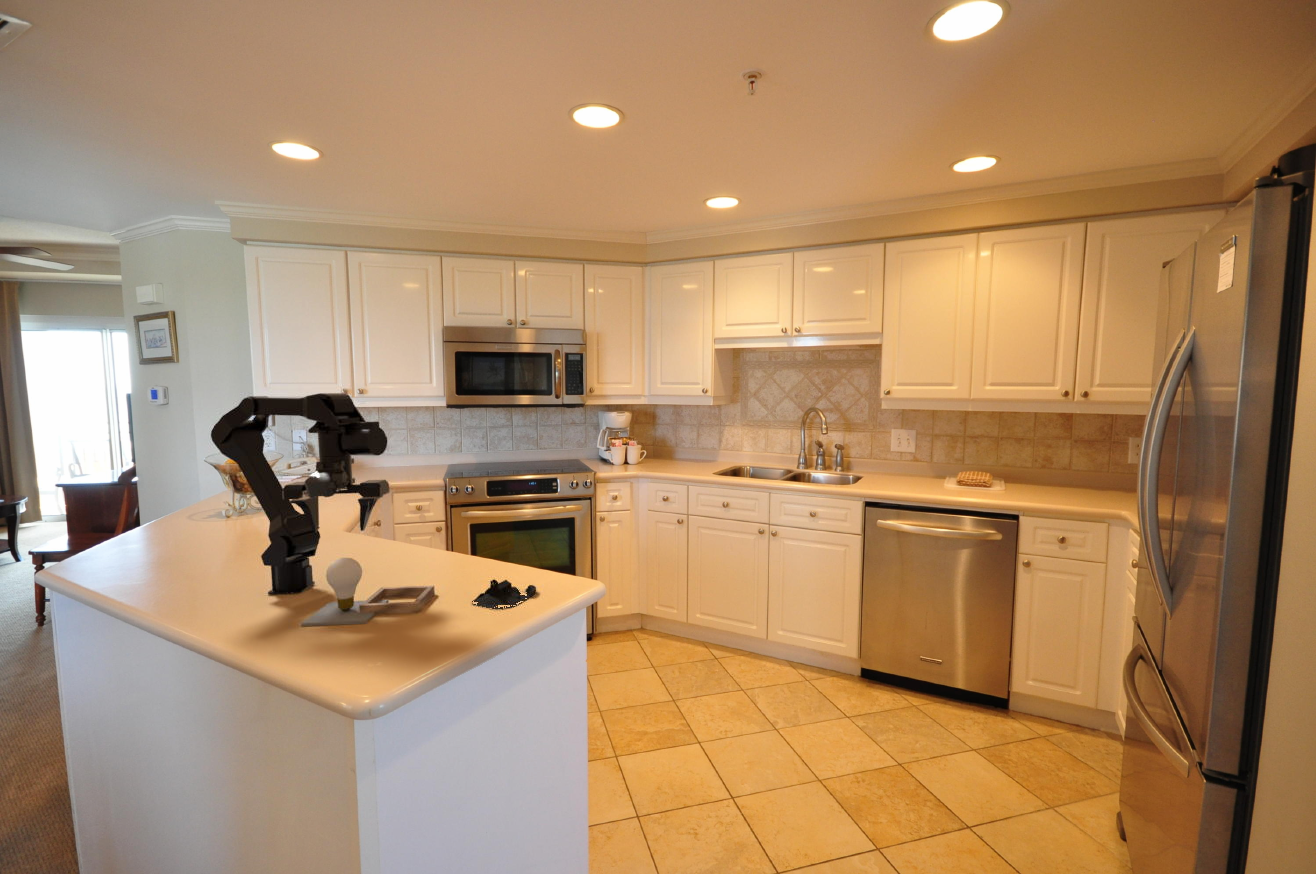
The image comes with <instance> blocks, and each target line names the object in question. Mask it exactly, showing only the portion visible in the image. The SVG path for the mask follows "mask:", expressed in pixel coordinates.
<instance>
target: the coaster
mask: <svg viewBox="0 0 1316 874" xmlns="http://www.w3.org/2000/svg"><path fill="white" fill-rule="evenodd" d="M364 601H365V600H354V606H353V607H352V608H351V609H350V610H348V611H342V610H341V609H339V608H338V601H329V602H328V603H327V604H325V605H324V606H323V607H321V608H320V609H318V610H317V611H316V612H315V613H313V614H312V615H310V616H309V617H308V618H306V619H305V620H304V621H302V622H301V624H300V625H301V627H311V626H312V627H315V626H317V627H318V626H334V625H335V626H336V625H338V626H339V625H356V624H357V625H359V624H360V625H361V624H367V623H368V622H369V621H370V620H371V619H372V618H373V617H374V616H375V612H363V613H360V611H359V606H360V605H361V604H362V603H363V602H364ZM376 603H390V600H389V599H383V600H379V601H378V602H376Z"/></svg>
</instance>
